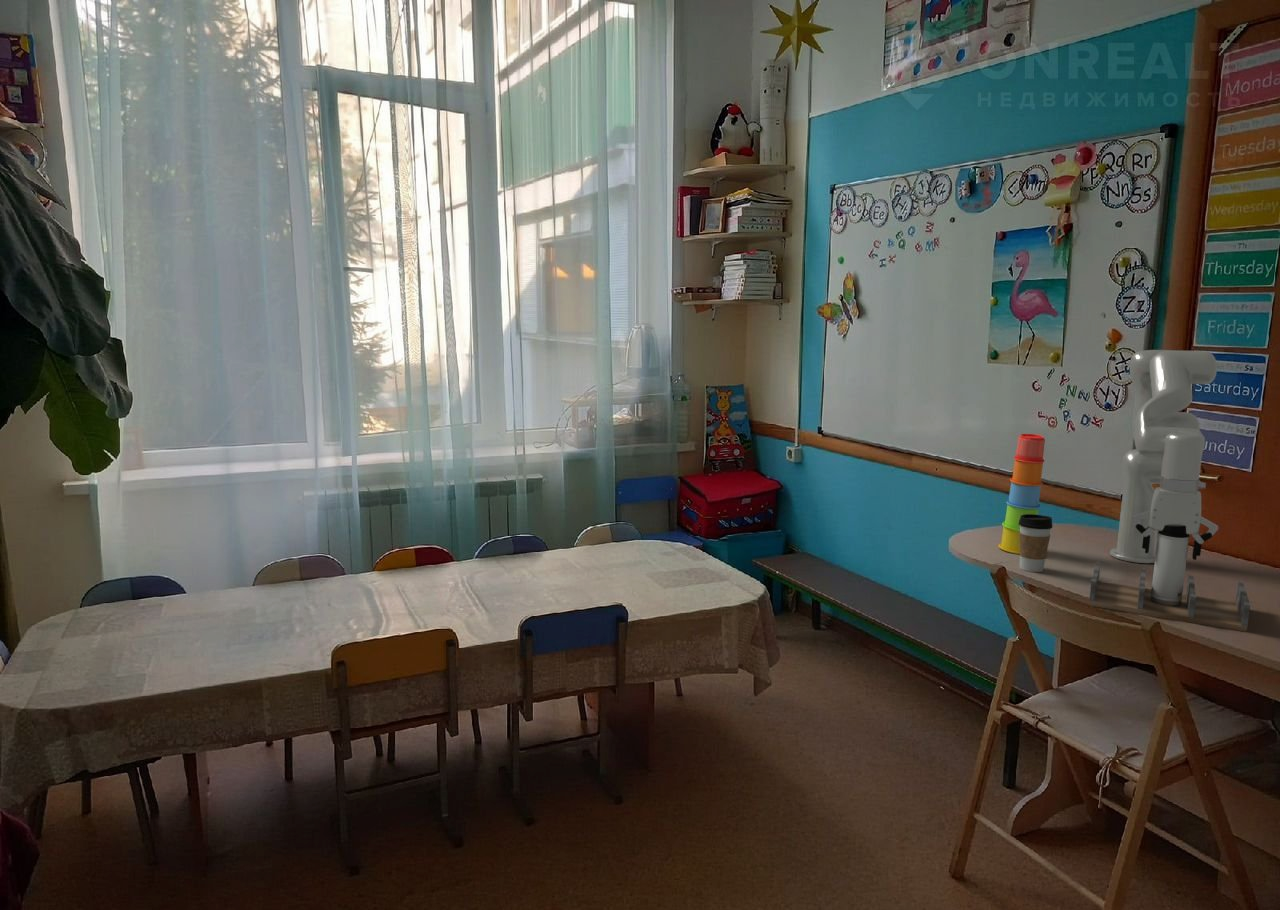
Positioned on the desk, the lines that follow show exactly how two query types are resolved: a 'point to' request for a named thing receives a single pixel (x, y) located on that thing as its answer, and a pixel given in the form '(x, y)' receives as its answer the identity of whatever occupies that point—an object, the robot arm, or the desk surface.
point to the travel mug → (1170, 565)
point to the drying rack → (1188, 610)
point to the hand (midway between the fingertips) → (1170, 555)
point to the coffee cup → (1034, 541)
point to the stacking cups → (1023, 488)
